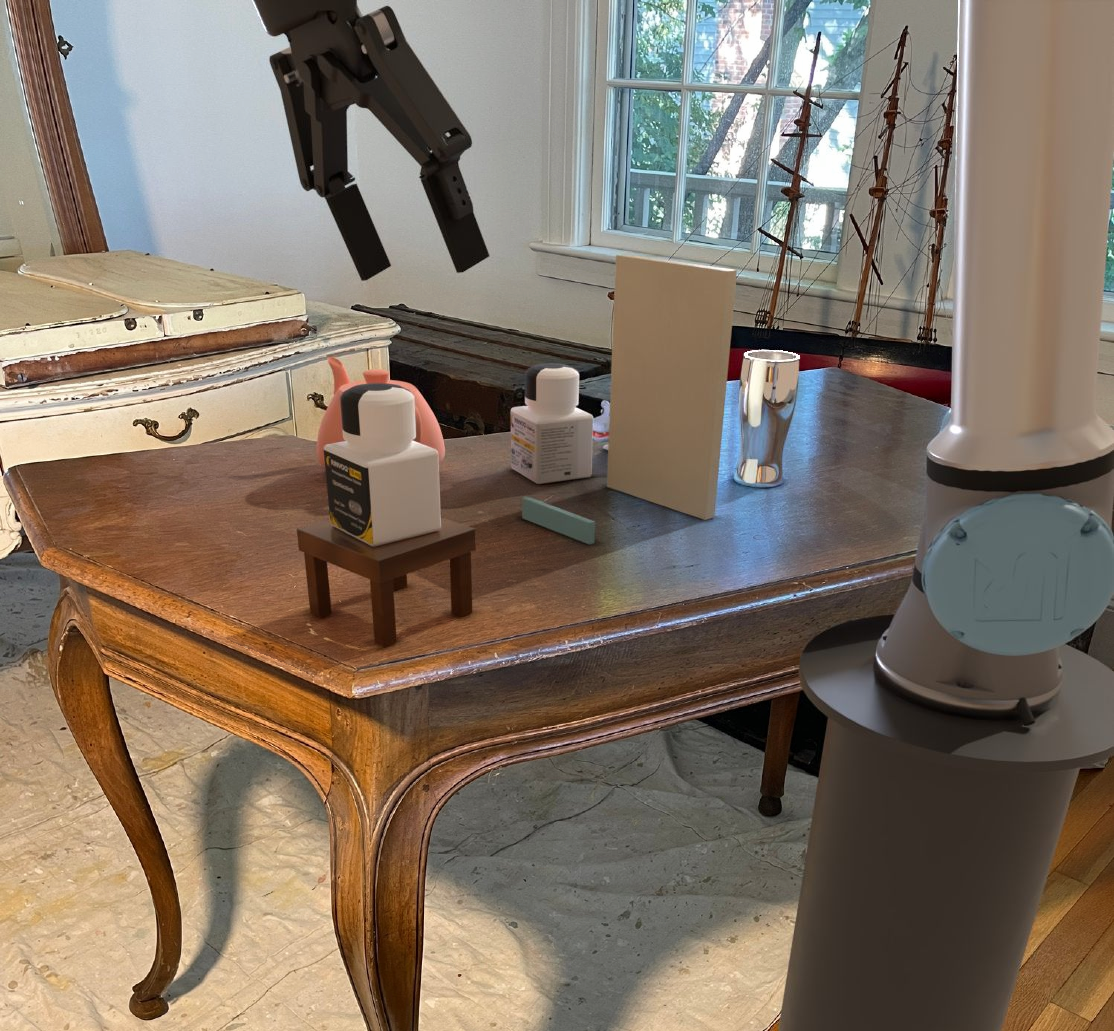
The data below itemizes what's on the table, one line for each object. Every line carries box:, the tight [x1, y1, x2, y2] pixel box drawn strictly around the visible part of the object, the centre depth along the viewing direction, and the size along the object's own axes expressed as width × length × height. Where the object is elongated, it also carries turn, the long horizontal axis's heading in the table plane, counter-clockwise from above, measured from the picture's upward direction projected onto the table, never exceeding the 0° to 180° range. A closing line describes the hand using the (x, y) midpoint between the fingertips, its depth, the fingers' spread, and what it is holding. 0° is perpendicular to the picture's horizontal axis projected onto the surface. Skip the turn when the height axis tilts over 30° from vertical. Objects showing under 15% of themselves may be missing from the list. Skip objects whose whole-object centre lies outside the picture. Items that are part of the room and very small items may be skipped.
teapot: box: [316, 356, 446, 469], centre depth 135 cm, size 22×16×12 cm
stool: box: [296, 517, 477, 648], centre depth 98 cm, size 11×11×8 cm
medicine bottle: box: [324, 383, 442, 547], centre depth 93 cm, size 7×7×12 cm
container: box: [510, 362, 594, 485], centre depth 135 cm, size 8×8×13 cm
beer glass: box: [733, 349, 801, 489], centre depth 134 cm, size 7×7×15 cm
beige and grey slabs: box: [521, 253, 738, 545], centre depth 118 cm, size 16×17×26 cm
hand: (422, 269), depth 85 cm, fingers open, 13 cm apart
